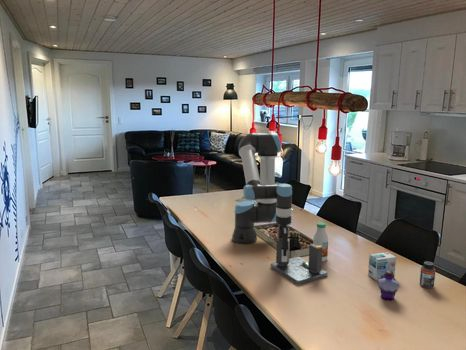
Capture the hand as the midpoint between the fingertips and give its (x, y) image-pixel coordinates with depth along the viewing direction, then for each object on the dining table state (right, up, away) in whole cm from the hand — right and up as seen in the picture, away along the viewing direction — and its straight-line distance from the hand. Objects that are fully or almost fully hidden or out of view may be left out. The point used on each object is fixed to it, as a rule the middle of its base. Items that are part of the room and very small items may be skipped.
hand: (282, 255), depth 195 cm
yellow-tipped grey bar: (0, -5, +1) cm, 5 cm away
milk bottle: (+21, -4, +12) cm, 25 cm away
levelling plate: (+7, -7, -2) cm, 11 cm away
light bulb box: (+47, -8, -8) cm, 48 cm away
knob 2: (+15, -6, -7) cm, 17 cm away
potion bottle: (+42, -12, -27) cm, 51 cm away
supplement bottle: (+64, -10, -17) cm, 67 cm away
